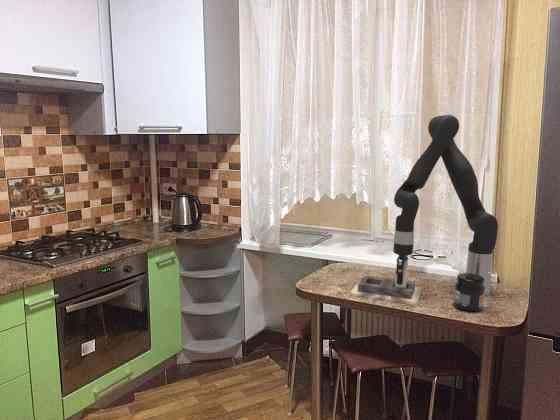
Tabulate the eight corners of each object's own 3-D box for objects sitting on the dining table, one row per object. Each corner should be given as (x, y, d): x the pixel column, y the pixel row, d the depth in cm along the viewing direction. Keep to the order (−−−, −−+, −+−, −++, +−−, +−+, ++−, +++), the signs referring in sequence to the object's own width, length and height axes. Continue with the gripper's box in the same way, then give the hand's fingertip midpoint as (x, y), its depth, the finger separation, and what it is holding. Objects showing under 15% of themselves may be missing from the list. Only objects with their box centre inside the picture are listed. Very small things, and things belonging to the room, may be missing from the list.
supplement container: (487, 307, 182) (490, 276, 180) (477, 315, 174) (480, 283, 172) (459, 300, 189) (462, 270, 186) (448, 307, 181) (451, 276, 179)
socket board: (421, 290, 199) (422, 280, 198) (417, 305, 182) (417, 295, 182) (359, 281, 208) (360, 272, 208) (349, 295, 192) (350, 285, 191)
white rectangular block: (406, 291, 194) (407, 270, 193) (404, 294, 191) (406, 272, 189) (396, 290, 196) (397, 268, 194) (394, 293, 192) (395, 271, 190)
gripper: (411, 246, 181) (408, 287, 184) (415, 238, 194) (412, 276, 197) (391, 244, 184) (388, 285, 187) (396, 236, 197) (394, 274, 200)
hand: (401, 280), depth 192 cm, fingers open, 8 cm apart
